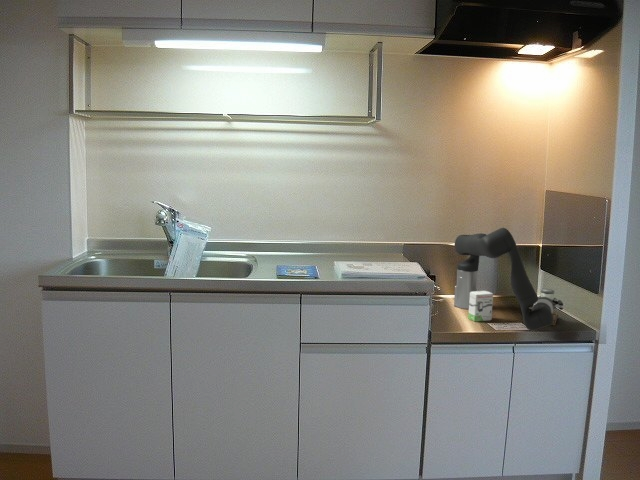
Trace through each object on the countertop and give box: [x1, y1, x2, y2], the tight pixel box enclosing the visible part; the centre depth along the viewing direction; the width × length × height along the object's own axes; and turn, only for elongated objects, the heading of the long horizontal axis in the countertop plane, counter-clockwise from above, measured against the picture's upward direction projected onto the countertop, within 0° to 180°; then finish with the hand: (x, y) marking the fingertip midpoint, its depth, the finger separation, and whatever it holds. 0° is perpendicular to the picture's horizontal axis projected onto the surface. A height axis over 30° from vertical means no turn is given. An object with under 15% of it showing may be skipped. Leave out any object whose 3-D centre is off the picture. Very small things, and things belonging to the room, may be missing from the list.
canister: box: [540, 288, 555, 299], centre depth 226 cm, size 5×5×11 cm
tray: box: [550, 312, 559, 326], centre depth 228 cm, size 8×12×2 cm
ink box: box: [468, 290, 494, 322], centre depth 227 cm, size 9×5×12 cm, turn 108°
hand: (547, 299), depth 228 cm, fingers closed on canister, 5 cm apart
